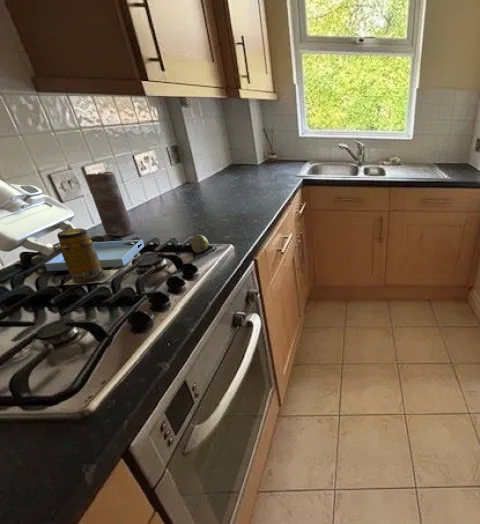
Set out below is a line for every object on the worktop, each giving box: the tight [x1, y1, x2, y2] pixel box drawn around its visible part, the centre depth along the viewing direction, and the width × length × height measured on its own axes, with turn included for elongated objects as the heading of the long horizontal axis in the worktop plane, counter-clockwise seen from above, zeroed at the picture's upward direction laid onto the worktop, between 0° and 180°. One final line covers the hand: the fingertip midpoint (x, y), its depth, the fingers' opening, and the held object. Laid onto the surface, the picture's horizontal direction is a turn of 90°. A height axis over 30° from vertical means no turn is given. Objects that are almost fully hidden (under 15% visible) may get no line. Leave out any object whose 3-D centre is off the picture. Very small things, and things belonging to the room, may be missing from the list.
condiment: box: [56, 227, 119, 286], centre depth 79 cm, size 7×8×12 cm
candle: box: [84, 171, 134, 237], centre depth 104 cm, size 8×7×20 cm
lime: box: [190, 234, 210, 254], centre depth 96 cm, size 4×5×5 cm
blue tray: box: [44, 239, 145, 272], centre depth 91 cm, size 17×14×2 cm
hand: (67, 244), depth 76 cm, fingers open, 8 cm apart
